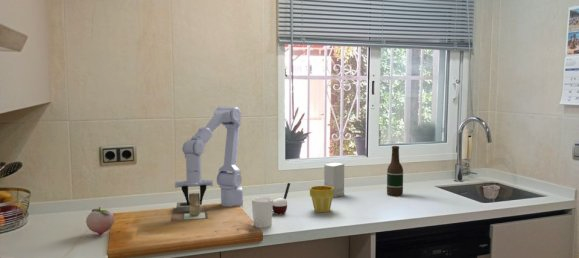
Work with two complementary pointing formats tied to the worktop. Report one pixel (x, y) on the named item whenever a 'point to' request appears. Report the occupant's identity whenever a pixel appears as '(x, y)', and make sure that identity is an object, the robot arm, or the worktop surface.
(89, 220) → the decorative fruit
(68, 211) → the worktop surface
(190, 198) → the maple peg
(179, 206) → the grey square frame
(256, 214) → the white cup
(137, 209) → the worktop surface
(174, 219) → the walnut board
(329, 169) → the skincare box
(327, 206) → the plant pot
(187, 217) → the pad
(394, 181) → the beer bottle
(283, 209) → the cocoa
